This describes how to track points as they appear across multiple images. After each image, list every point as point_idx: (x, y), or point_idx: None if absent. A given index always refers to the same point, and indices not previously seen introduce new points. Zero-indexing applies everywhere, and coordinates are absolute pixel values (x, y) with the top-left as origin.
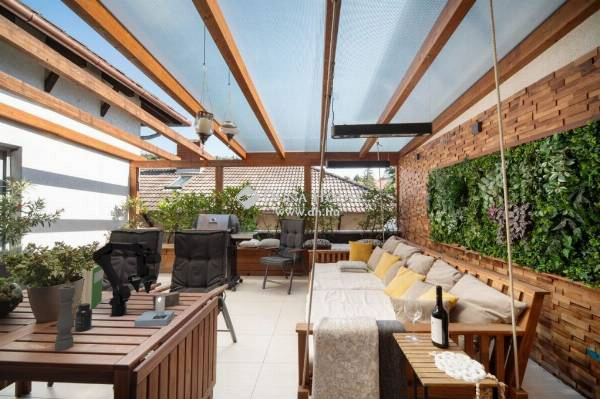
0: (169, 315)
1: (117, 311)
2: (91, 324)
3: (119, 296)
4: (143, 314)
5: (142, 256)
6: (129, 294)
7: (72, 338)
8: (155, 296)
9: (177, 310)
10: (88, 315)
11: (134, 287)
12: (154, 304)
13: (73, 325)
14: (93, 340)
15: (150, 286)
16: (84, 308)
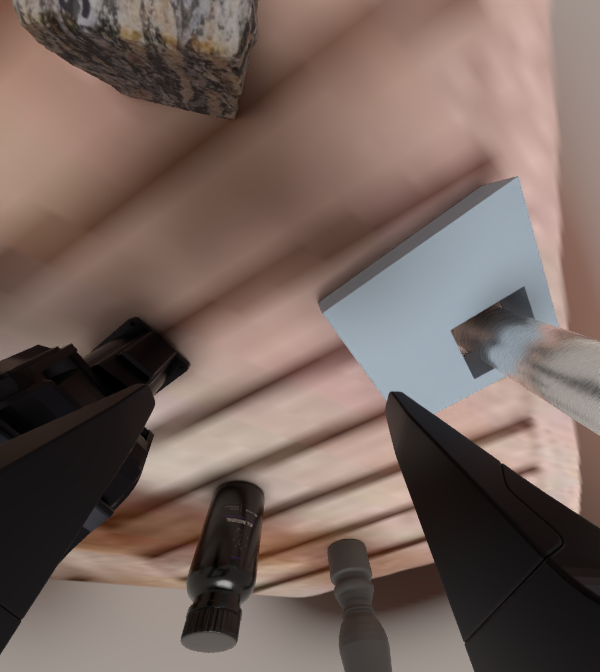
0: (545, 287)
1: (155, 392)
2: (250, 497)
3: (122, 500)
4: (364, 358)
5: None
6: (66, 407)
7: (367, 571)
8: (95, 32)
9: (415, 41)
10: (256, 561)
11: (88, 510)
12: (133, 89)
13: (378, 627)
14: (371, 510)
15: (516, 485)
16: (240, 620)
